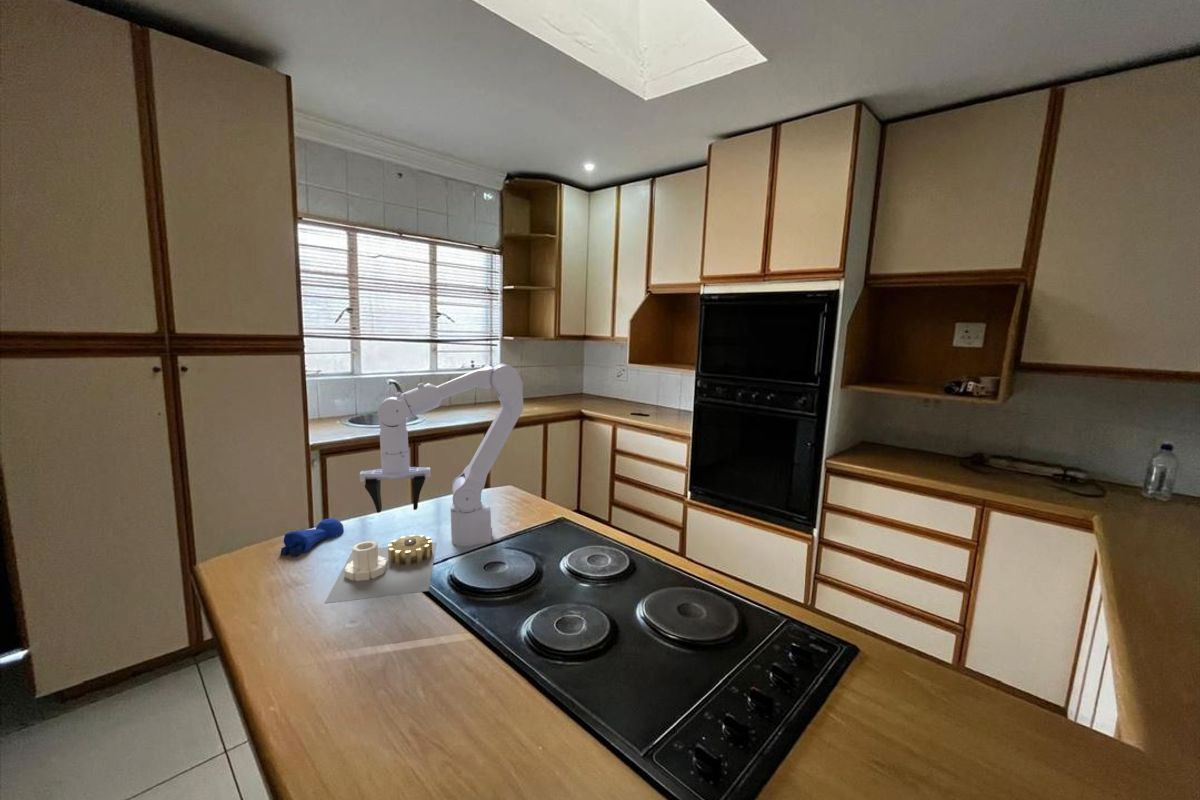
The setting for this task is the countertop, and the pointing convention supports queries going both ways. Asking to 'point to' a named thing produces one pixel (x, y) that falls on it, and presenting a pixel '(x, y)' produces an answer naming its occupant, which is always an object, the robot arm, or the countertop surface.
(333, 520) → the toy
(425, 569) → the carrier plate
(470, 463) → the robot arm
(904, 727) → the countertop surface
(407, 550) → the sun gear
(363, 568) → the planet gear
